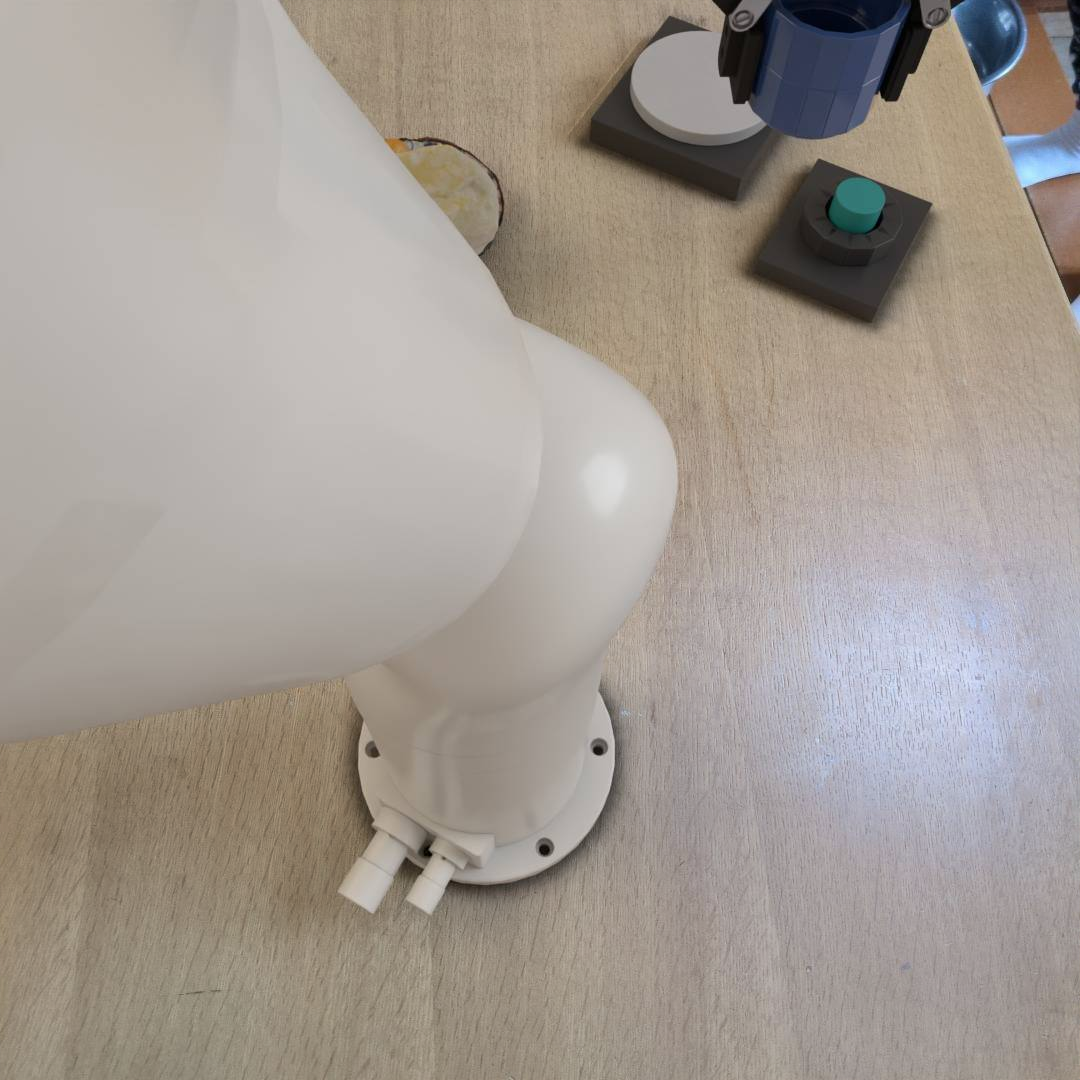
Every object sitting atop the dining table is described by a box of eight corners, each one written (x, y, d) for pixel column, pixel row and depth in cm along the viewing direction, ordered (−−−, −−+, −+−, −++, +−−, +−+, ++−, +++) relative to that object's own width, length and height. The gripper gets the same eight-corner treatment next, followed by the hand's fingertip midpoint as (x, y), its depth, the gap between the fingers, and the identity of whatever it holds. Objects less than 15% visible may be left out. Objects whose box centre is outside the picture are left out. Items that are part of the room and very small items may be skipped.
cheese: (546, 301, 67) (455, 67, 63) (541, 312, 60) (438, 49, 56) (335, 387, 69) (234, 166, 65) (306, 406, 62) (192, 161, 58)
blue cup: (840, 164, 49) (878, 57, 44) (720, 115, 51) (742, 5, 45) (890, 83, 52) (932, -28, 46) (774, 38, 53) (801, -75, 48)
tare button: (866, 241, 63) (875, 220, 62) (821, 222, 64) (828, 202, 63) (883, 209, 65) (892, 188, 63) (839, 191, 65) (846, 170, 64)
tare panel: (871, 324, 64) (886, 292, 61) (753, 273, 66) (763, 240, 63) (925, 218, 68) (942, 184, 65) (813, 173, 70) (824, 138, 67)
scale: (735, 202, 68) (744, 167, 66) (588, 142, 71) (591, 106, 68) (805, 92, 73) (815, 56, 70) (665, 39, 75) (671, 2, 73)
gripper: (694, -300, 33) (639, 142, 49) (1233, -305, 33) (1002, 136, 49) (673, -418, 36) (628, 33, 52) (1164, -421, 36) (968, 28, 52)
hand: (811, 80), depth 50 cm, fingers closed on blue cup, 6 cm apart
